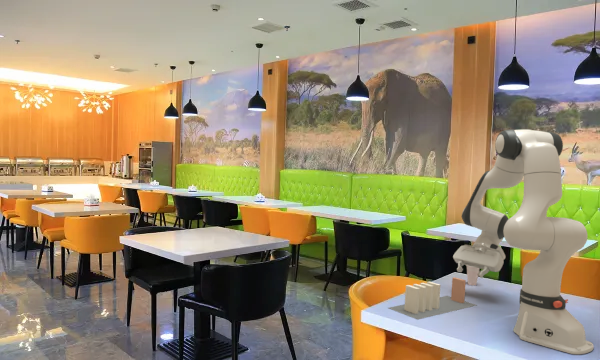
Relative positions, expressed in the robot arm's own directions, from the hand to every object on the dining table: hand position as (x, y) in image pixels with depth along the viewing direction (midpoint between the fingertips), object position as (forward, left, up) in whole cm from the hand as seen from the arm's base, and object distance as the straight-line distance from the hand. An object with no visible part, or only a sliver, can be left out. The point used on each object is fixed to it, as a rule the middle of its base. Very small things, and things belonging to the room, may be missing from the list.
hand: (468, 273), depth 182 cm
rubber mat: (0, +21, -11) cm, 24 cm away
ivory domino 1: (0, +34, -10) cm, 36 cm away
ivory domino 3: (0, +26, -10) cm, 28 cm away
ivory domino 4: (0, +22, -10) cm, 25 cm away
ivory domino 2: (0, +30, -10) cm, 32 cm away
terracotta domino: (0, +6, -10) cm, 12 cm away
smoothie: (+15, -27, -11) cm, 32 cm away
